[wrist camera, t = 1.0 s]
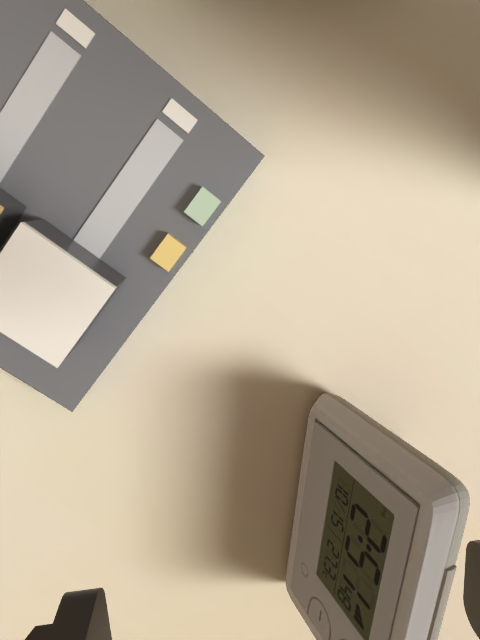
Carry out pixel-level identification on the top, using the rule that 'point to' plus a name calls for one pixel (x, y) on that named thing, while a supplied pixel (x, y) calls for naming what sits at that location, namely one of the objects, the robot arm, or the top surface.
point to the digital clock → (371, 531)
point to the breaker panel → (106, 168)
